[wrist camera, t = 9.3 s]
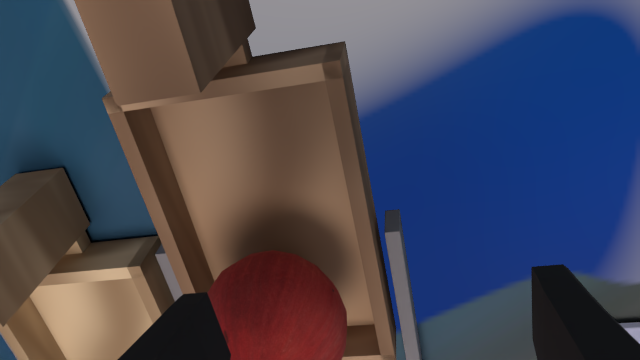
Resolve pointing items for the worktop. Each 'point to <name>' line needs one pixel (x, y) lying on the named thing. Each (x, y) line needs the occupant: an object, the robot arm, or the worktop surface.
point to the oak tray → (70, 276)
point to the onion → (279, 309)
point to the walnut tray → (244, 150)
